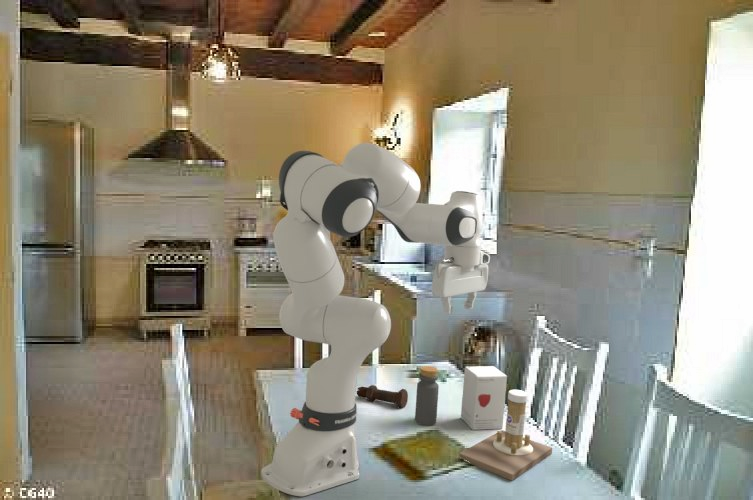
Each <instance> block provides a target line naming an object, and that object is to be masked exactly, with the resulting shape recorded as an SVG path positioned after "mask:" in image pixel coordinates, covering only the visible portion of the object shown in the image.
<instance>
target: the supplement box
mask: <svg viewBox="0 0 753 500" xmlns="http://www.w3.org/2000/svg"><path fill="white" fill-rule="evenodd" d="M463 372H464V374H463V375H464V376H463V387H462V399H461V411H460V418H461V419H462V420H463V421H464V422H465V423H466V425H467V426H468V427H470V428H471V429H472V430H473V431H478V430H479V431H481V430H497V429H498V430H500V429H501V430H503V426H504V415H505V405H506V391H507V379H508V375H506V374H505V373H504V372H502V371H501V370H500V369H498V368H497V367H495V366H493V365H489V366H486V365H485V366H483V365H482V366H479V365H478V366H477V365H476V366H464V371H463Z"/></svg>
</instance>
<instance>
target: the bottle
mask: <svg viewBox="0 0 753 500" xmlns="http://www.w3.org/2000/svg"><path fill="white" fill-rule="evenodd" d="M419 369H420V373H419V375H418V379H420V381H418V382H417V385H416V394H415V395H416V397H415V415H414V421H415V423H416V424H418V425H421V426H427V427H428V426H429V427H430V426H434V425H436V424H437V415H438V402H439V400H438V399H439V389H440V388H439V387H440V386H439V384H438V382H436V381H438V379H439V375H438V368H437V367H435V366H430V365H424V366H420V368H419Z"/></svg>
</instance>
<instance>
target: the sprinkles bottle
mask: <svg viewBox="0 0 753 500" xmlns="http://www.w3.org/2000/svg"><path fill="white" fill-rule="evenodd" d="M507 394H508V395H507V401H508V404H507V412H506V413H507V414H506V420H505V430H504V431H506V432H505V440H504V443H505V444H506V445H507V446H509V447H511V445H512V443H516V444H517V447H516V448H519V447H521V446H522V445H523V443H522V440H523V438H524V431H525V422H526V421H525V420H526V409H527V401H528V393H527V392H526V391H524V390H520V389H510V390H509V391H508V393H507Z"/></svg>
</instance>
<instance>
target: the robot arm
mask: <svg viewBox="0 0 753 500" xmlns="http://www.w3.org/2000/svg"><path fill="white" fill-rule="evenodd" d="M278 185H279V191H280V194H279V195H280V196H279V203H280V205H281V207H283V209H285V210H286V211H287V213H286V215H285V216H283V217H282V218H281V219H280V220H279V221H278V222H277V224H276V225H275V227H274V230H273V233H272V234H273V235H272V236H273V237H272V238H273V244H274V249H275V253H276V257H277V260H278V262H279V264H280V268H281V270H282V272H283V274H284V277H285V279H286V281H287V283H288V285H289V288H290V290H291V292H292V293H290V294H288V296H286V298H285V299H284V300H283V301H282V304H281V306H280V309H279V313H278V314H279V315H278V317H279V318H278V319H279V324H280V327H281V328H282V330H283V332H284V333H285V334H287V335H289V336H292V337H295V338H297V339H300V340H303V341H305V342H306V341H307V342H312V343H319V344H324V345H330V348H331V349H330V354H329V356H326V357H324V358H321V359H319V360H317V361H314V363H313V364H311V365H310V367H309V368H308V371H307V373H306V388H305V401H304V403H303V406H302V409H301V410H300V409H297V408H296V407H294V408H292V409H291V411H290V413H289V414H290V417H291V418H293V419H296V420H298V422H297V423H296V424H295V426H294V427H292V429H291V430H289V432H288V433H287V434H286V435H285V436H284V437H283V438H282V439H281V441H279V443H278V444H277V445H276V446H275V448H274V450H273V451H274V452H273V454H272V462H270V463H269V464H268V465H265V466H264V467H262V468H261V470H260V476H261V478H262V479H263V480H264V481H265V483H267V484H268V485H269V486H271V487H272V488H275V489H276V490H278V491H280V492H282V493H284V494H288V495H290V496H296V497H306V496H309V495H313V494H315V493H318V492H321V491H322V492H323V491H325V490H328V489H331V488H334V487H337V486H340V485H344V484H346V483H350V482H353V481H355V480H358V479H359V478H360V471H359V467H360V461H359V459H358V458H359V457H358V453H357V452H358V451H357V440H356V439H357V438H356V431H355V430H356V429H355V423H356V421H357V415H358V413H357V410H358V409H357V403H356V395H357V383H358V376H359V372H360V368H361V367H362V364H363V363H364V361H365V360H366V359H367V357H368V356H369V355H370V354H371V353H372V352H374V351H375V350H377V349H379V348H380V347H381V346H383V344H385V342H386V341H387V339H388V337H389V336H390V333H391V330H392V321H391V320H392V319H391V316H390V315H391V314H390V313H389V311H388V309H387V307H386V306H385V305H383V304H381V303H378V302H377V301H373V300H370V299H367V298H361V297H356V296H355V297H354V296H346V295H340V294H341V293H342V291H343V290H344V285H345V274H344V271H343V269H342V266H341V263H340V260H339V257H338V255H337V252H336V250H335V247H334V245H333V242H332V240H331V233H333V234H334V235H337V236H340V237H344V238H352V237H355V236H357V235H358V234H360V233H362V232H363V231H364V230H365V229H366V228H368V226H369V225H370V224H371V222H372V221H373V219H374V216H375V214H376V212H377V213H378V214H379V215H380V216H381V217H383V218H384V219H385V220H386V221H388V222H389V223H390V224H391V225H392V226H393V227H394V229H395V230H396V232H397V233H398V235H399V237H401V239H402V240H403V241H405V243H413V244H414V243H418V244H419V243H422V244H430V245H435V246H436V245H437V246H439V245H440V246H444V257H443V258H440V259H439V261H438V262H437V264H436V266H435V268H434V271H433V276H432V283H431V289H430V291H431V294H432V296H434V297H438V298H440V301H441V304H442V306H443V310H442V312H443V314H446V315H448V314H449V315H450V314H453V309H454V307H453V305H451V301H452V297H455V296H460V295H465V294H466V295H467V298H466V300H465V301H464V309H465V310H473V308H474V302H475V300H476V298H477V295H478V292H482V291H485V289H486V288H487V284H488V280H489V279H488V277H489V265H488V264H490V261H491V255H490V254H488V253H486V252H485V251H483V250H481V247H482V245H481V244H482V242H481V233H482V230H483V215H484V214H483V201H482V197H481V196H480V195H479V194H477V193H474V192H470V191H464V190H463V191H462V190H456V191H453V192H452V193H451V194H450V198H449V201H447V202H446V203H444V204H437V203H422V202H417V201H418V199H419V197H420V194H421V180H420V177H419V175H418V173H417V172H416V171H415V169H414V168H413V167H411V165H410V164H408V163H407V162H406V161H404V160H403V159H402V158H401V157H399V156H398V155H396V154H395V153H393V152H392V151H390V150H388V149H386V148H384V147H382V146H380V145H377V144H375V143H371V142H362V143H358V144H357V145H354V146H353V147H352V148H351V149H350V150H348V152H347V153H346V154H345V157H344V159H343V162H341V163H339V164H337V163H336V162H333V161H332V160H330V159H327V158H325V157H324V156H323V155H322V154H320V153H318V152H314V151H311V150H298V151H295V152H293V153H291V154H290V155H289V156H287V157H286V158H285V160H284V161H283V163H282V165H281V167H280V169H279V175H278Z"/></svg>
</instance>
